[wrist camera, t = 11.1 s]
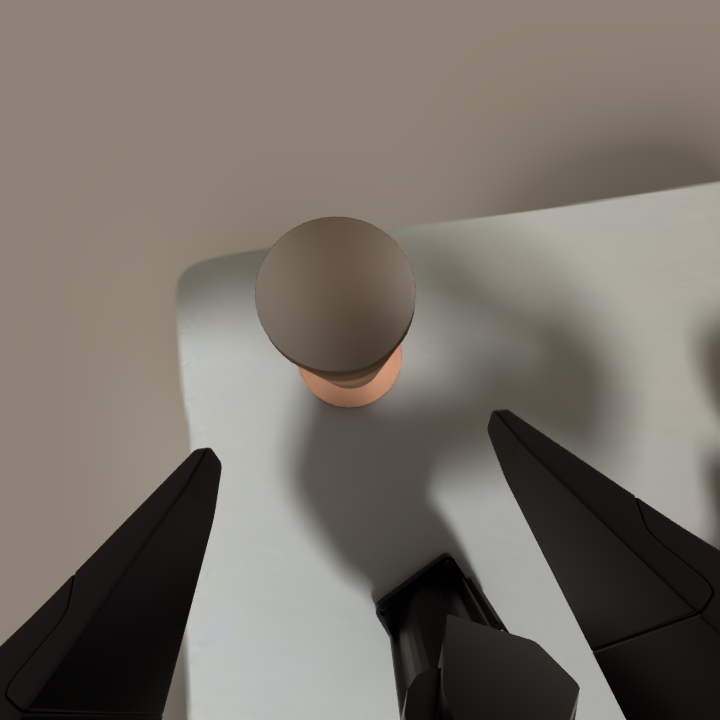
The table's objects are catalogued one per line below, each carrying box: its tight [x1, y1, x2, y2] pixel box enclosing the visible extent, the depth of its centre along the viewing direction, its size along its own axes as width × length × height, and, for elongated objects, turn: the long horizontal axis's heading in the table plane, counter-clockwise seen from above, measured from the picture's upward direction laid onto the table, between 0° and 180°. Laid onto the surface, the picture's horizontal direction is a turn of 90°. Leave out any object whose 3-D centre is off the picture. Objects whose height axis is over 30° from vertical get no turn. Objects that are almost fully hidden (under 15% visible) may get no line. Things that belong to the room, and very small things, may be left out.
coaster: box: [299, 345, 402, 407], centre depth 22 cm, size 8×8×1 cm
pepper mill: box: [255, 217, 416, 389], centre depth 15 cm, size 5×5×13 cm
